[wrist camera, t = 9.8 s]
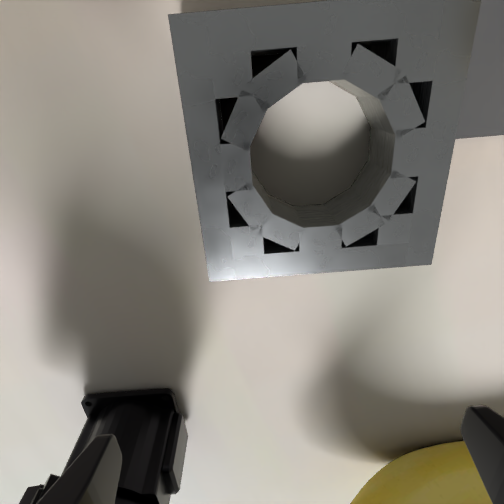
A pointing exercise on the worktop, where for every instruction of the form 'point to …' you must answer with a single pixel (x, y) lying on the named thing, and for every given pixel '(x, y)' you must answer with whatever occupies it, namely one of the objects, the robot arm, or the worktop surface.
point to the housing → (372, 103)
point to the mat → (485, 76)
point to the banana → (427, 479)
